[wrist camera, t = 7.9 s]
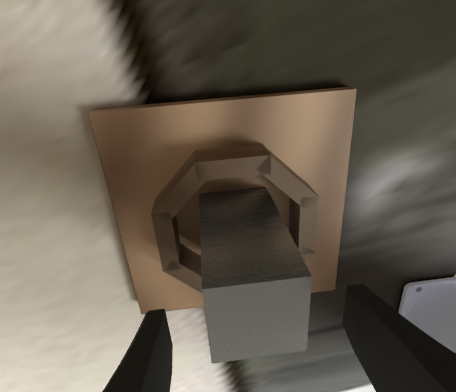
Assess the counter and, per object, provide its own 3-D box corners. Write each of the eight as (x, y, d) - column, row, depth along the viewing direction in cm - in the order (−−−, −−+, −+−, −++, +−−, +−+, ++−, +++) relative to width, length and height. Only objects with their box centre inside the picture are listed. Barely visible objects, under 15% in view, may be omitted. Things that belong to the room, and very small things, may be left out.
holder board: (348, 86, 17) (376, 94, 15) (329, 280, 23) (347, 310, 21) (93, 109, 16) (74, 121, 14) (143, 303, 23) (136, 338, 20)
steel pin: (266, 186, 18) (311, 276, 11) (266, 242, 20) (306, 350, 13) (198, 193, 18) (202, 289, 11) (205, 249, 20) (211, 363, 13)
